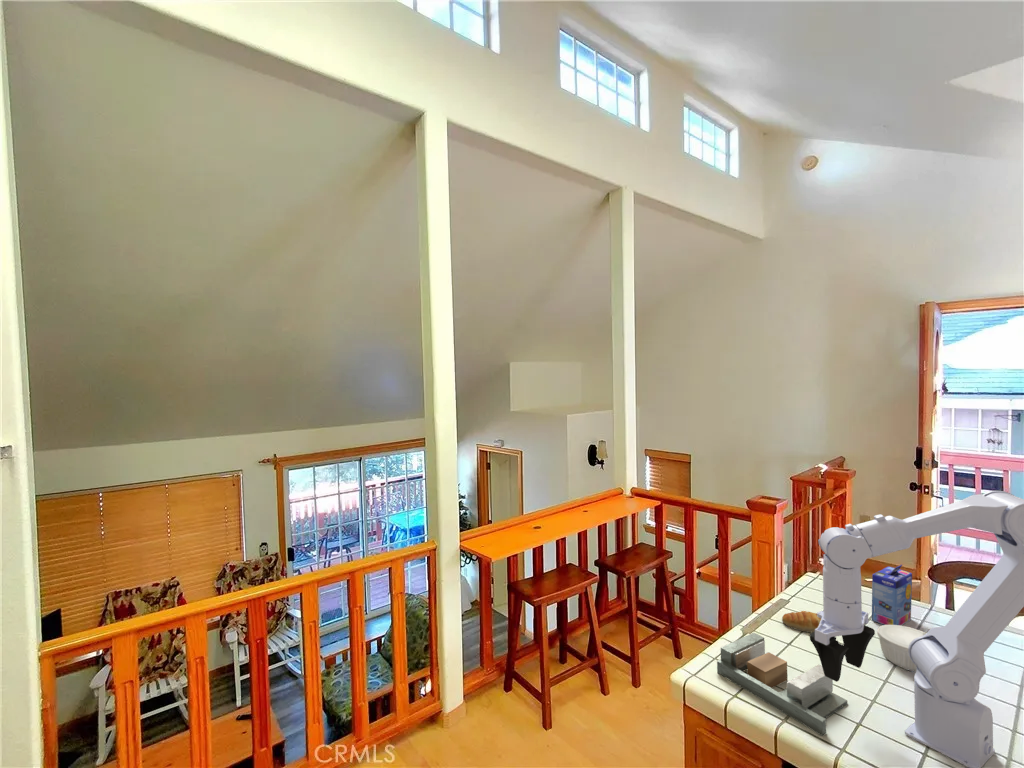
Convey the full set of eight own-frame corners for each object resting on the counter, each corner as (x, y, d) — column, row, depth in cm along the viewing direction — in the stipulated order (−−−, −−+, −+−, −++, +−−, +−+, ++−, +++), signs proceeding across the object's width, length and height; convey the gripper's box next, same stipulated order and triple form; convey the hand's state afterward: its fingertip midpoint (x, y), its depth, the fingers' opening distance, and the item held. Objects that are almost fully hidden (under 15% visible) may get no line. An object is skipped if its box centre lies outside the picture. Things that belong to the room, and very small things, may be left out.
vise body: (859, 709, 89) (858, 683, 89) (822, 735, 82) (822, 707, 82) (754, 654, 107) (753, 632, 107) (717, 672, 101) (716, 649, 101)
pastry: (785, 630, 117) (785, 615, 117) (779, 618, 123) (779, 603, 124) (829, 636, 114) (829, 620, 114) (821, 623, 120) (820, 608, 120)
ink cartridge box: (897, 631, 116) (896, 571, 116) (870, 621, 120) (869, 564, 120) (913, 619, 121) (912, 563, 121) (887, 611, 126) (886, 556, 125)
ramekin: (958, 680, 97) (958, 654, 97) (896, 674, 99) (895, 649, 99) (923, 649, 108) (922, 626, 108) (867, 645, 110) (867, 622, 110)
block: (787, 681, 98) (787, 661, 98) (765, 691, 94) (765, 671, 94) (769, 670, 101) (768, 652, 101) (747, 680, 98) (747, 661, 98)
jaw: (832, 691, 92) (832, 670, 92) (802, 710, 87) (801, 689, 87) (817, 683, 95) (816, 663, 95) (786, 701, 90) (785, 680, 90)
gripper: (838, 579, 93) (839, 648, 93) (796, 597, 86) (797, 672, 86) (881, 593, 87) (881, 667, 87) (839, 614, 80) (840, 694, 80)
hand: (842, 671), depth 86 cm, fingers open, 7 cm apart
